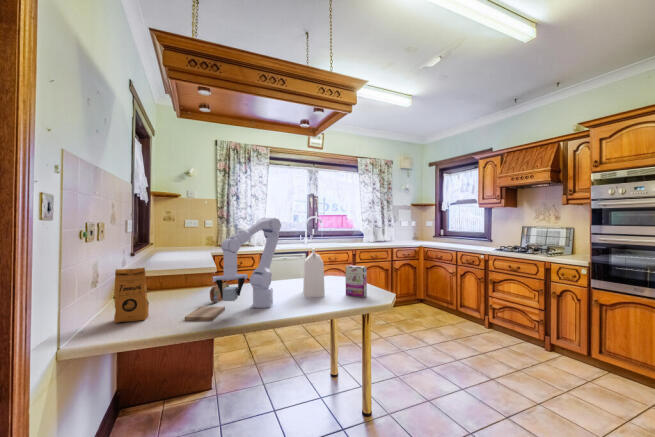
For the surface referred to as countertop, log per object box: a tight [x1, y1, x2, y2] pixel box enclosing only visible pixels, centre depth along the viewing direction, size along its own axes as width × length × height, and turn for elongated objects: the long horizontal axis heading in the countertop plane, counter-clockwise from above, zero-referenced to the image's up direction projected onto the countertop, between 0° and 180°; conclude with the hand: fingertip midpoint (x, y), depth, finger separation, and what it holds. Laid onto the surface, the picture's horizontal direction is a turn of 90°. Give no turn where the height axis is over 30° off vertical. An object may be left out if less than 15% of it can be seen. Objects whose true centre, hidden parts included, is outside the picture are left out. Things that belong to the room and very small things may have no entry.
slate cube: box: [222, 286, 239, 302], centre depth 128 cm, size 5×5×5 cm
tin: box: [209, 282, 230, 303], centre depth 152 cm, size 15×3×8 cm, turn 168°
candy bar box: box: [345, 264, 368, 298], centre depth 161 cm, size 11×5×16 cm, turn 61°
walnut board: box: [184, 306, 226, 322], centre depth 128 cm, size 12×14×2 cm
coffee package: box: [113, 267, 150, 323], centre depth 122 cm, size 10×12×22 cm
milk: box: [302, 247, 326, 298], centre depth 164 cm, size 12×12×26 cm
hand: (230, 296), depth 128 cm, fingers closed on slate cube, 7 cm apart
